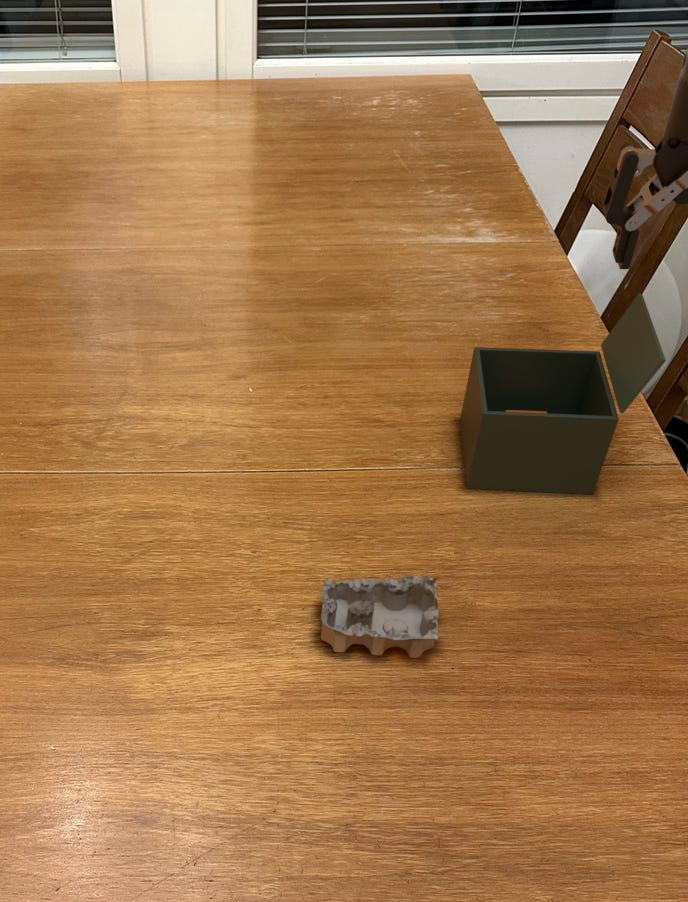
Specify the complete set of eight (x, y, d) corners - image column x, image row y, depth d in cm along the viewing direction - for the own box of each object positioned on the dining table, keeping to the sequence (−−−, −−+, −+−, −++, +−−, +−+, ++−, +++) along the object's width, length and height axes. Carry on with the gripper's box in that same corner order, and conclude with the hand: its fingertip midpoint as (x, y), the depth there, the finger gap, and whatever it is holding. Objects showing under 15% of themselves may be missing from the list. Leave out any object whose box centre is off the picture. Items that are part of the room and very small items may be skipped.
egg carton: (435, 606, 92) (442, 575, 89) (433, 666, 87) (441, 635, 84) (322, 593, 94) (325, 562, 91) (314, 652, 89) (317, 621, 86)
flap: (600, 345, 102) (603, 346, 103) (619, 412, 95) (623, 413, 95) (639, 293, 98) (642, 294, 98) (662, 359, 90) (666, 360, 90)
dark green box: (577, 425, 110) (600, 351, 103) (592, 494, 102) (619, 419, 95) (459, 420, 111) (474, 346, 104) (466, 488, 103) (483, 413, 96)
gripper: (647, 91, 76) (596, 286, 88) (843, 87, 74) (763, 287, 86) (630, 56, 81) (584, 246, 93) (814, 52, 79) (743, 246, 91)
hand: (671, 265), depth 90 cm, fingers open, 8 cm apart
